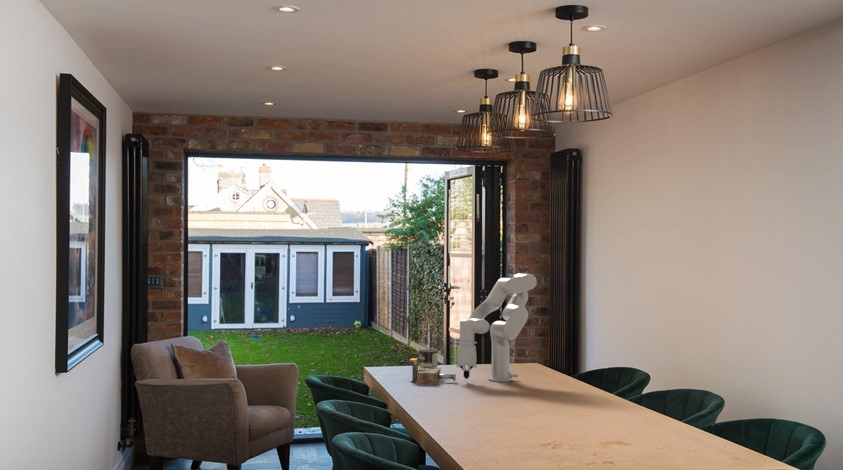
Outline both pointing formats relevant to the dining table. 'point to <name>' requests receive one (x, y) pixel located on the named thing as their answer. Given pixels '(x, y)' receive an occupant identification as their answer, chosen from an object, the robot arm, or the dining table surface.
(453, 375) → the pin
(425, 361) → the coffee can
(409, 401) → the dining table surface
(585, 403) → the dining table surface
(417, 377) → the block
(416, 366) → the plate
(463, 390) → the dining table surface
